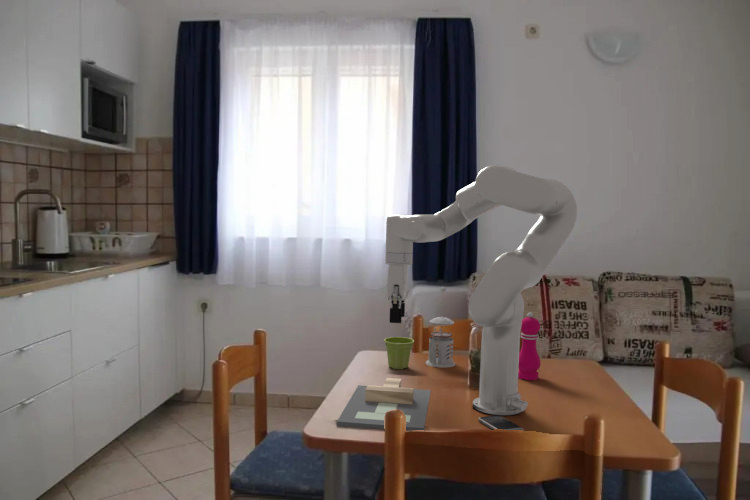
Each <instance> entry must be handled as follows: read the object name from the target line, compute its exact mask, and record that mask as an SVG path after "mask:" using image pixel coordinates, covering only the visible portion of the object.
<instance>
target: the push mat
mask: <svg viewBox="0 0 750 500" xmlns="http://www.w3.org/2000/svg"><path fill="white" fill-rule="evenodd" d="M367 386H368V385H361V384H360V385H357V387H356V389H355V390H354V392H353V393H352V395H351V397H350V399H349V400H348V402H347V403H346V406H345V407H344V408H343V410H342V412H341V414H340V415H339V417H338V419H337V420H336V426H337V427H346V428H348V427H349V428H360V429H361V428H362V429H363V428H364V429H375V430H385V429H384V416H385V413H386V412H387V411H390V410H393V409H399V410H402V411H403V412H404V414H405V416H406V423H407V424H406V430H424V431H425V429H426V426H425V425H426V420H427V414H428V409H429V403H430V397H431V390H430V389H419V388H414V398H413V403H412V404H400V403H386V402H372V401H365V389H366V387H367Z"/></svg>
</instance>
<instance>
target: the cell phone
mask: <svg viewBox="0 0 750 500" xmlns="http://www.w3.org/2000/svg"><path fill="white" fill-rule="evenodd" d="M478 422H479V423H480V424H482V425H484V426H485V427H486V428H489V429H490V430H492V429H503V430H504V429H505V430H524V431H525V428H523V427H521V426H519V424H516V423H514V422H513V421H511V420H509V419H507V418H505V417H504V416H503V415H494V414H493V415H487V416H480V417H478Z"/></svg>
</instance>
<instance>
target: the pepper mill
mask: <svg viewBox="0 0 750 500" xmlns="http://www.w3.org/2000/svg"><path fill="white" fill-rule="evenodd" d="M540 330H541V324H540V321H539V320H538V319H537V318H535V317H534V313H533V312H531V311H530V312H528V313H527V317H526V316H525V317H524V318H523V319H522V325H521V332H520V339H521V340H522V342H521V343H522V344H521V348H520V350H519V367H518V379H520V380H523V379H525V380H524V381H537V380H538V379H539V372H538V370H539V369H540V368H541V359H540V356H539V352H538V350H537V340H538V339H539V334H538V332H539V331H540ZM536 379H537V380H536Z"/></svg>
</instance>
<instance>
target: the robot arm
mask: <svg viewBox="0 0 750 500" xmlns="http://www.w3.org/2000/svg"><path fill="white" fill-rule="evenodd" d="M501 206H505V207H508V208H510V209H513V210H517V211H520V212H523V213H527V214H532V215H540V216H539V218H538V219H537V221H536V222H535V223H534V225H533V226H532V227H531V228H530V230H529V231H528V232H527V234H526V236H525V238H524V239H523V240H522V242H521V243H520V244H519V246H518V247H517V248H516V249H515V250H510V251H506V252H504V253H502V254H500V255H499V256H498V257H497V258H496V259H494V261H493V262H492V263H491V265H490V266H489V267H488V270H487V271H486V273H485V274H484V275H483V277H482V278H481V280H480V282H479V283H478V285H477V286H476V288H475V289H474V290H473V292H472V293H471V296H470V297H469V298H470V299H469V301H468V314H469V316H470V318H471V320H472V321H473V322H474V323H475V324H477V325H478V326H479V327H482V331H481V342H480V344H481V345H480V364H479V366H480V367H479V369H480V370H479V389H478V390H479V392H478V397H475V398H474V399H473V401H472V407H473V408H474V409H475V410H477V411H479V412H481V413H485V414H489V415H493V416H494V415H499V416H512V415H518V414H520V413H522V412H524V411H526V409H527V407H528V405H529V403H528V401H526V400H522V398H521V393H520V392H518V388H519V387H518V386H519V378H518V370H519V368H518V367H519V353H520V349H521V348H520V344H521V343H520V341H521V333H522V331H521V325H522V319H524V318H523V317H524V314H525V313H524V312H525V301H524V298H523V296H522V294H521V293H522V292H523V291H524V290H526V289H529V288H532V287H534V286H536V285H537V284H538V283H539V282H540V280H541V279H542V278H543V276H544V275H545V273H546V271H547V270H548V268H549V267H550V265H551V264H552V263H553V261H554V259H556V257H557V256H558V253H559V252H560V250H561V248H563V246H564V244H565V243H566V241H568V238H569V237H570V235H571V233H572V232H573V229H574V227H575V225H576V222H577V217H578V206H577V201H576V198H575V196H574V194H573V193H572V191H571V189H570V188H569V187H568V186H567V185H565V183H563V182H561V181H559V180H556V179H552V178H546V177H545V178H544V177H540V176H539V177H537V176H534V175H530V174H526V173H522V172H519V171H517V170H516V169H514V168H512V167H510V166H503V165H498V164H494V165H493V164H491V165H488V166H486V167H484V168H482V169H481V170H480V171H479V172H478V173H477V176H476V177H475V181H473V182H472V183H470V184H468V185H466V186H464V187H463V188H461V189H459V190H458V191H457V192H456V194H455V201H454V202H453V203H451V204H450V205H449V206H447V207H445V208H443V209H441V211H438V212H436V213H434V214H428V213H427V214H413V215H412V214H411V215H410V214H389V215H388V216H387V218H386V223H385V224H386V227H385V231H386V232H385V256H384V257H385V259H384V260H385V261H384V263H385V265H388V268H387V269H388V270H387V280H386V281H387V282H386V283H387V284H386V297H385V298H386V300H387V301H389V300H390V308H389V323H390V324H401V323H402V318H404V317H405V313H406V312H405V310H406V309H405V308H406V303H405V299H406V297H407V291H408V279H409V277H408V276H409V275H408V274H409V273H408V272H409V266H412V265H413V252H414V251H413V250H414V249H413V248H414V245H413V244H414V243H431V242H435V243H436V242H439V241H442V240H444V239H446V238H448V237H450V236H453V235H454V234H456V233H458V232H460V231H461V230H463V229H465V228H466V227H467V226H468V225H470V224H471V223H472V222H473V221H474V220H476V219H478V218H479V217H482V216H483V215H485V214H487V213H489V212H492V211H493V210H495V209H496V208H499V207H501Z"/></svg>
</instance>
